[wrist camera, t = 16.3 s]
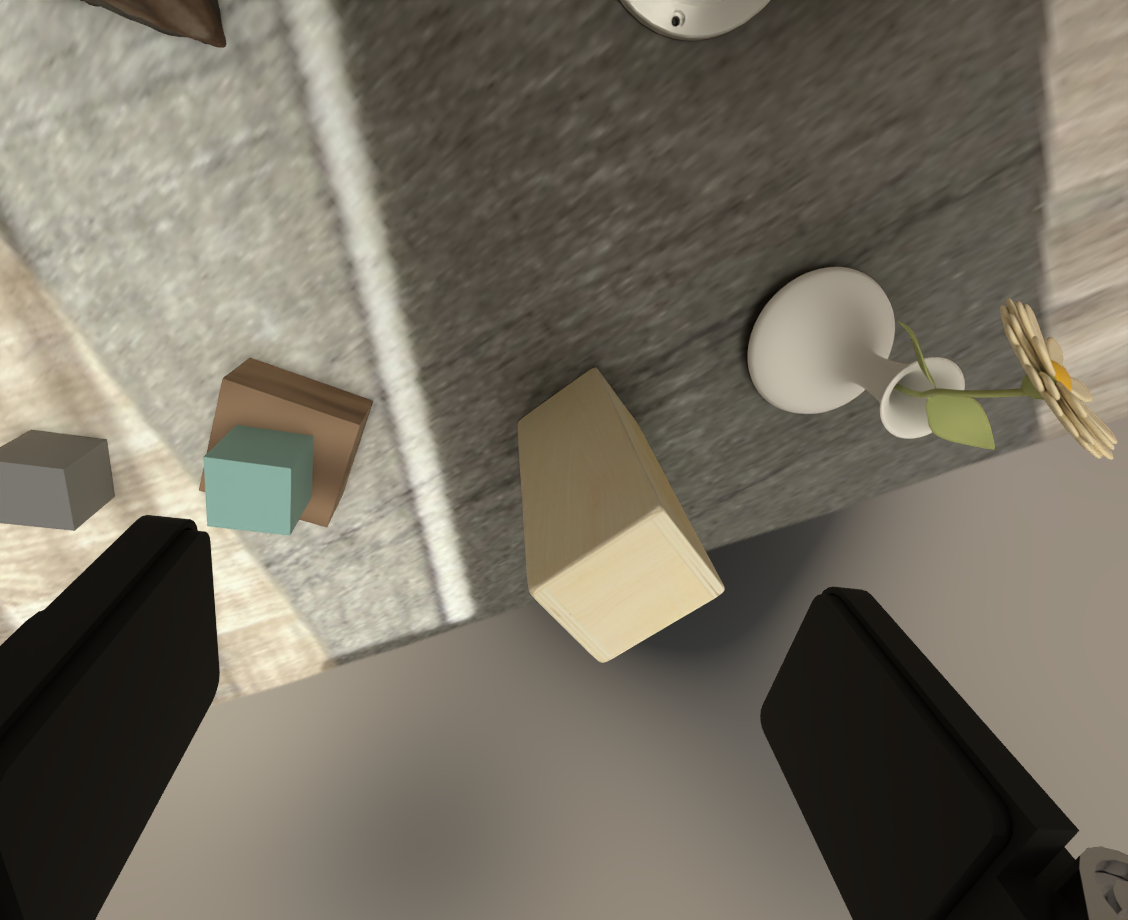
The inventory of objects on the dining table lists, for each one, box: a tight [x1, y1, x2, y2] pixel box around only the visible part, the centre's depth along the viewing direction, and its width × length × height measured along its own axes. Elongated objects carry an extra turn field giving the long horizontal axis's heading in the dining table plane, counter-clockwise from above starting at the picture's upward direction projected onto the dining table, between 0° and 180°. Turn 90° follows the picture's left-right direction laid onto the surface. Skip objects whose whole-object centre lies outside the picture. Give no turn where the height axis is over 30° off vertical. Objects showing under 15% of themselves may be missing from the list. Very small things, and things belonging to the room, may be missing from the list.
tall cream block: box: [517, 367, 724, 663], centre depth 38 cm, size 8×7×21 cm
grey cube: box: [0, 430, 115, 531], centre depth 42 cm, size 5×5×5 cm
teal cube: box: [204, 425, 314, 535], centre depth 39 cm, size 5×5×5 cm
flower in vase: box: [748, 267, 1117, 459], centre depth 35 cm, size 13×11×25 cm
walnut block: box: [199, 358, 373, 527], centre depth 43 cm, size 9×9×5 cm
